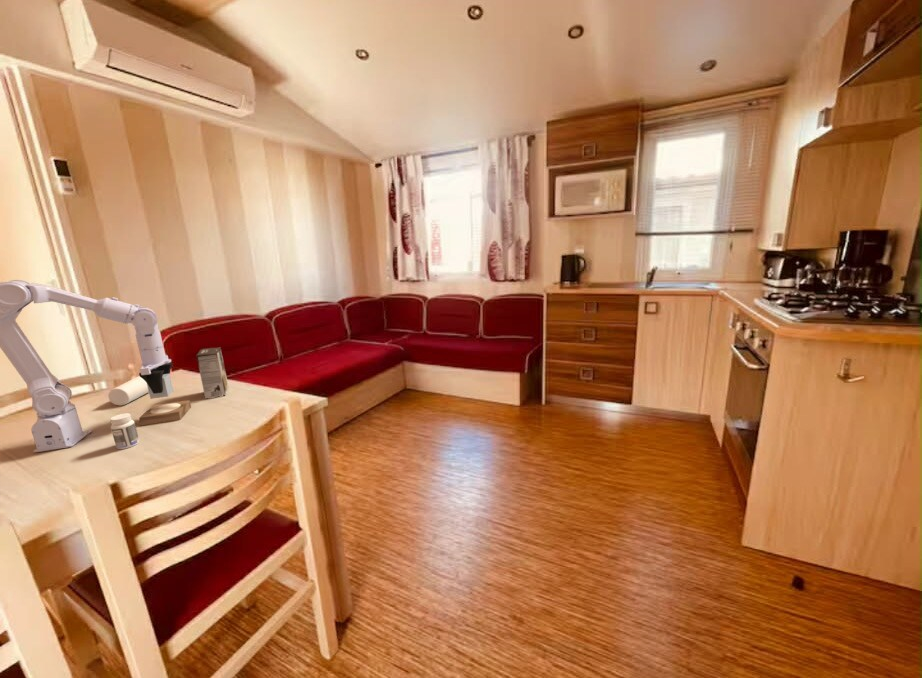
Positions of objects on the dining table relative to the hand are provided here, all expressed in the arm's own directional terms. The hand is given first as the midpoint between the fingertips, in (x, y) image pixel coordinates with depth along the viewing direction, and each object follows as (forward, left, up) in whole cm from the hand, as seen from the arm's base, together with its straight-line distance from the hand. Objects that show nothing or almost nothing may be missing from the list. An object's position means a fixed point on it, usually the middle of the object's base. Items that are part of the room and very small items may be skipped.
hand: (161, 390), depth 115 cm
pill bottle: (-18, +3, -9) cm, 20 cm away
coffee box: (+16, -10, -9) cm, 21 cm away
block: (0, 0, -2) cm, 2 cm away
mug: (+17, +20, -6) cm, 27 cm away
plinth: (0, 0, -9) cm, 9 cm away
